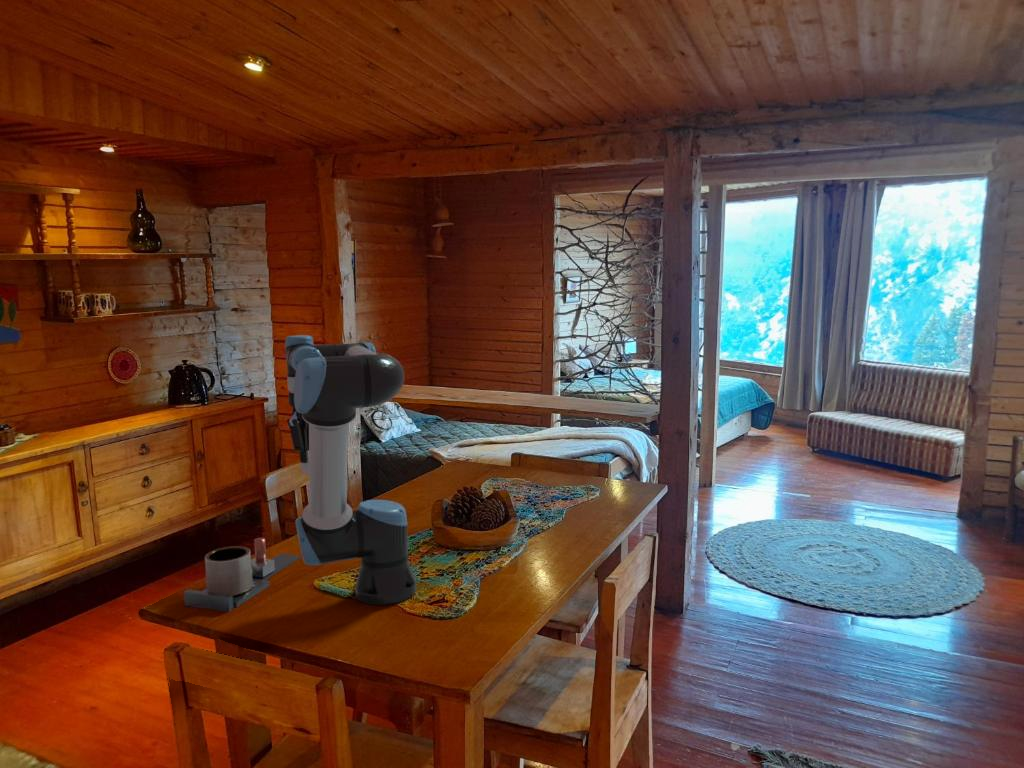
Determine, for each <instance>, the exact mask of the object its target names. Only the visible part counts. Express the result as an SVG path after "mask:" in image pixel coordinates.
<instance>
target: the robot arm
mask: <svg viewBox="0 0 1024 768" xmlns="http://www.w3.org/2000/svg"><path fill="white" fill-rule="evenodd" d="M284 350H285V355H286V357H285V359H286V360H285V361H286V371H287V374H286V375H287V380H286V381H287V390H288V391H289V393H287V397H288V405H289V406H290V407H292V412H291V418H287V420H286V423H287V425H288V427H289V431H290V436H291V441H292V444H293V445H292V446H293V450H294V451H296V452H299V460H300V461H299V462H300V471H301V474H303V475H308V504H307V505H306V506H305V507H304V509H303V511H302V515H301V516H299V517H298V518H296V519H295V527H296V533H297V538H298V542H299V547H300V552H301V557H302V561H303V562H304V564H306V565H307V566H319V565H320V566H324V565H326V564H332V563H337V562H342V561H343V562H345V561H350V560H354V559H355V560H356V559H360V561H361V563H360V564H361V566H360V568H359V572H358V576H357V579H356V584H355V587H354V588H355V597H356V599H357V600H358V601H359V602H362V603H363V604H368V605H376V606H378V605H379V606H380V605H381V606H382V605H383V606H385V605H393V604H397V603H400V602H404V601H406V600H408V599H411V598H412V597H413V596H414V595H415V594H416V592H417V582H416V578H415V574H414V573H413V569H412V567H411V564H410V562H409V550H408V549H409V545H408V544H409V543H408V542H409V541H408V521H407V520H408V519H407V512H406V511H407V510H406V509H405V507H404V506H403V505H402V504H400V503H398V502H395V501H391V500H387V499H367V500H364V501H361V502H359V504H358V506H357V509H356V510H355V509H354V510H353V508H352V507H351V505H350V504H349V503H348V502H347V499H348V498H347V497H348V495H347V494H348V491H347V490H348V461H349V460H348V459H349V458H348V457H349V455H348V454H349V424H351V423H352V422H354V420H355V418H356V416H357V409H361V408H371V407H377V406H380V405H383V404H385V403H387V402H389V401H390V400H392V399H393V398H395V397H396V396H397V395H398V394H399V393H400V391H401V389H402V388H403V385H404V384H405V369H404V367H403V365H402V364H401V362H400V361H399V360H397V359H396V358H395V357H394V356H391V355H390V354H387V353H377V351H376V347H375V345H374V344H373V343H372V342H361V341H359V342H351V343H339V344H338V343H333V344H332V343H331V344H330V343H329V344H314V337H313V336H311V335H307V334H306V335H304V334H303V335H302V334H300V335H298V334H297V335H289V336H287V337H286V338H285V347H284ZM411 596H412V597H411Z"/></svg>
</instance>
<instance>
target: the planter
mask: <svg viewBox="0 0 1024 768" xmlns="http://www.w3.org/2000/svg"><path fill="white" fill-rule="evenodd" d="M251 560H252V557H251V549H250V548H248V547H246V546H242V545H241V546H240V545H239V546H238V545H236V546H234V545H231V546H225V547H220V548H217V549H214V550H211V551H209V552H208V553H206V554H205V556H204V563H205V566H204V567H205V579H206V580H205V582H206V588H207V592H211V593H218V594H225V595H232V596H233V597H234V596H238V595H241V594H243V593H245V592H247V591H248V590H249V589H250V588H251V587H252V586H253V578H252V567H251Z"/></svg>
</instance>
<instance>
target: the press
mask: <svg viewBox="0 0 1024 768" xmlns="http://www.w3.org/2000/svg"><path fill="white" fill-rule="evenodd" d="M271 559H272V560H274V566H275V570H274V571H272V572H271V573H269V574H268V575H266V576H264V577H257V576H252V578H253V586H252V587H251V588H250V589H249V590H248V591H247V592H245V593H243V594H241V595H238V596H234V597H233V596H232V595H225V594H218V593H211V592H207V587H206V588H205V589H203V590H194V589H189V588H188V589H186V590H185V591H183V594H184V595H183V597H184V605H185V606H186V607H187V606H188V607H193V608H198V609H199V608H200V609H207V610H215V611H221V612H228V613H230V612H232V611H233V610H234V607H235V608H237V607H240V606H241V605H242V604H244V603H245V602H247V601H249V600H250V599H251V598H254V597H255V596H256V595H258V594H259V593H261V592H262V591H264V590H265V589H267V588H269V587H270V585H271V584H270V581H269V580H268V579H269V578H270V579H271V577H273V576H275V575H276V574H277V573H279V572H280V571H282V570H284V569H285V568H287V567H288V566H290V565H292V564H293V563H295V562H296V561H298V560H299V559H301V557H300V555H293V554H285V553H279V554H277V555H276V556H274V557H273V558H271Z"/></svg>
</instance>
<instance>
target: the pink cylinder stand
mask: <svg viewBox="0 0 1024 768" xmlns="http://www.w3.org/2000/svg"><path fill="white" fill-rule="evenodd" d="M253 541H254V543H253V544H254V545H253V546H254V555H255V557H254V558H251V567H252V576H257V577H264V576H266V575H268V574H269V573H271V572H272V571H274V570H275V566H274V560H272V558H267V548H266V547H267V545H266V537H256V538H254V540H253Z"/></svg>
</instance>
